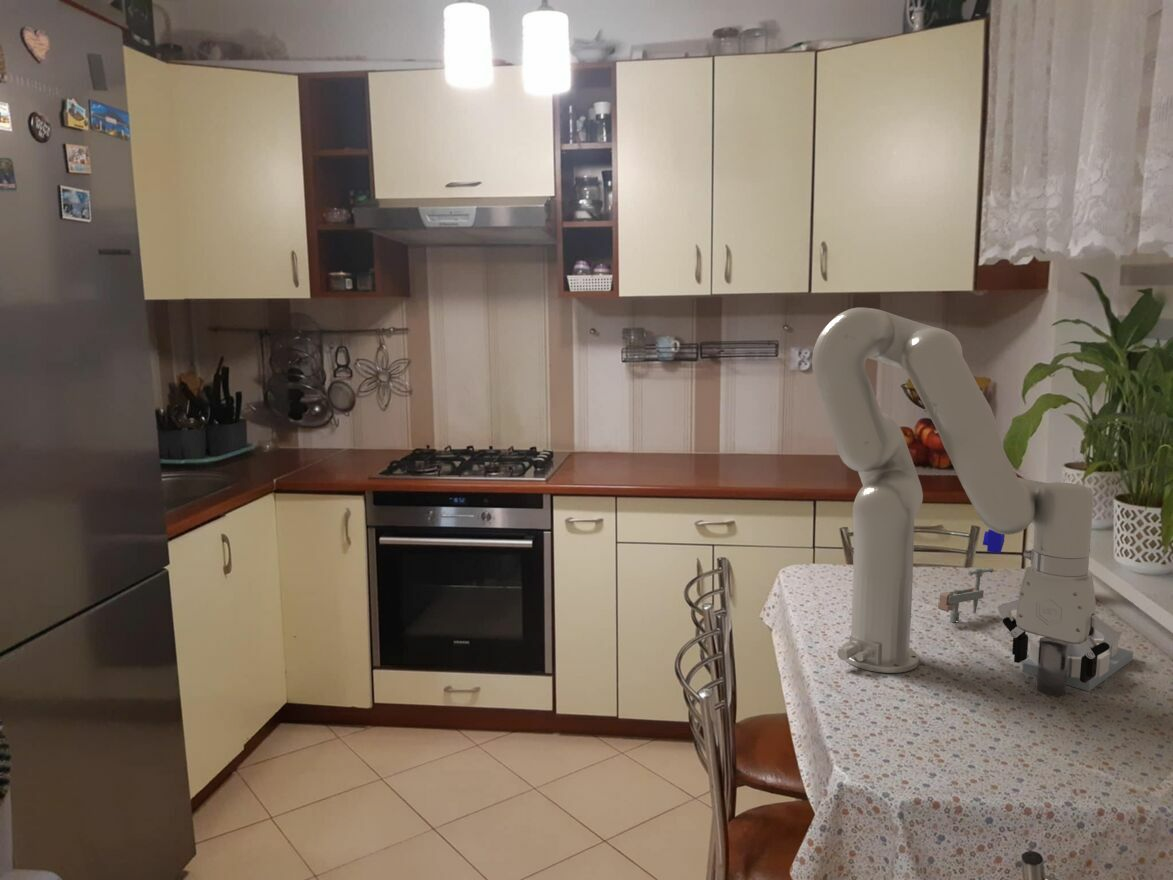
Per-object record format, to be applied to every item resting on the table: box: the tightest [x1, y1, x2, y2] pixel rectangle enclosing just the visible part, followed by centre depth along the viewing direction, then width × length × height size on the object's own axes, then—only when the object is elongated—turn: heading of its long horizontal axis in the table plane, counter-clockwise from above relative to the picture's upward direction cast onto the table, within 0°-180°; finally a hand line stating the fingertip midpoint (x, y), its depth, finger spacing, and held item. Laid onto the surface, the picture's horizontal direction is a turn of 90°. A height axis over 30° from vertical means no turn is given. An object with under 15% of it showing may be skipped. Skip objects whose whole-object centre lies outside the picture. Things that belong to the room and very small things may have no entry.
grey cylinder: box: [1035, 637, 1069, 697], centre depth 131 cm, size 4×4×8 cm
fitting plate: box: [1022, 629, 1134, 692], centre depth 140 cm, size 19×11×4 cm, turn 130°
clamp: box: [937, 567, 995, 623], centre depth 162 cm, size 15×2×10 cm, turn 123°
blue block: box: [982, 528, 1005, 554], centre depth 212 cm, size 12×4×6 cm, turn 150°
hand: (1052, 670), depth 131 cm, fingers open, 9 cm apart
